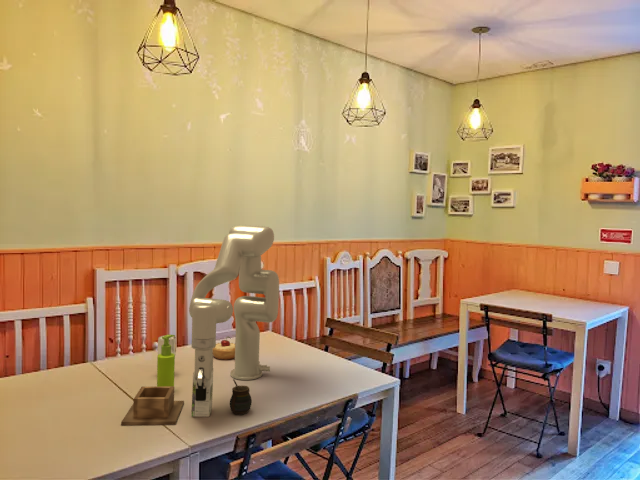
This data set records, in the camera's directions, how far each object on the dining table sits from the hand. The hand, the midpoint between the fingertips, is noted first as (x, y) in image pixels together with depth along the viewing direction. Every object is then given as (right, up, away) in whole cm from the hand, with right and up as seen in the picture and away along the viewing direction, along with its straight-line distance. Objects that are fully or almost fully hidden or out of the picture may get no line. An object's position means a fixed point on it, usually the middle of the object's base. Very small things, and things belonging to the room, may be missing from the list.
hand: (202, 394), depth 159 cm
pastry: (-4, -2, +60) cm, 60 cm away
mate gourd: (+12, -7, +3) cm, 14 cm away
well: (-15, -6, -1) cm, 16 cm away
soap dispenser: (-17, -5, +18) cm, 26 cm away
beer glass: (-22, -3, +34) cm, 41 cm away
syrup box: (0, -6, 0) cm, 6 cm away
